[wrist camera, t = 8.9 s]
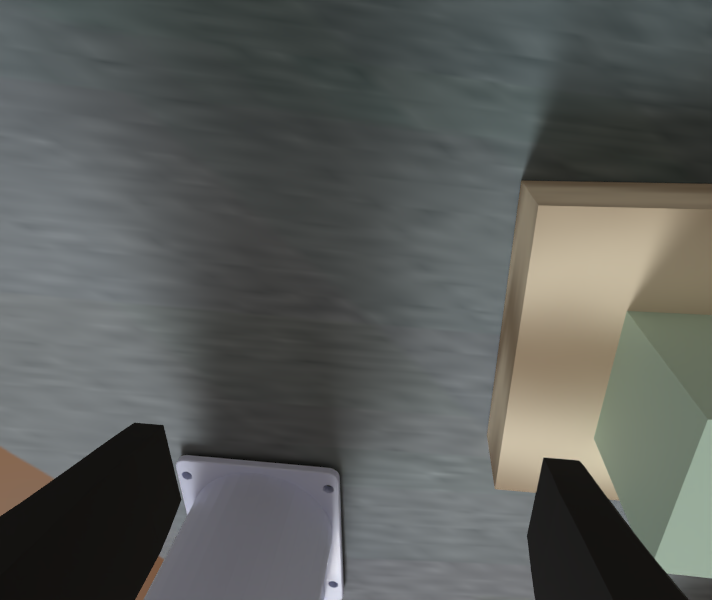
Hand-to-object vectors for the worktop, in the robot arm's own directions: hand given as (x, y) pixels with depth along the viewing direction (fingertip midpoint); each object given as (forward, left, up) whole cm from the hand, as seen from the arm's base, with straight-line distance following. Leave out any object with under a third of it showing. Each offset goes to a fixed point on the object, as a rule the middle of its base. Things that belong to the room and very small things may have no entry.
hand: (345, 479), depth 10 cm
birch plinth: (-2, -10, -10) cm, 15 cm away
